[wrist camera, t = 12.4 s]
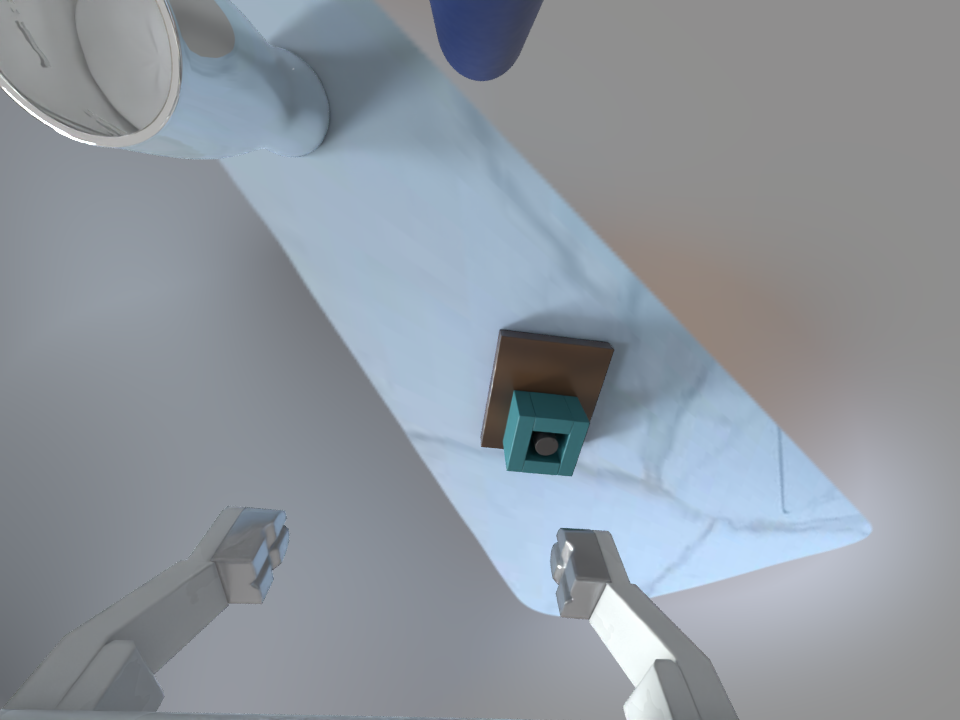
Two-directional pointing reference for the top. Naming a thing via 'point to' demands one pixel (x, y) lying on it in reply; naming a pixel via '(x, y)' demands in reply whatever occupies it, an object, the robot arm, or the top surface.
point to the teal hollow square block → (546, 417)
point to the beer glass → (159, 77)
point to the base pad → (542, 378)
